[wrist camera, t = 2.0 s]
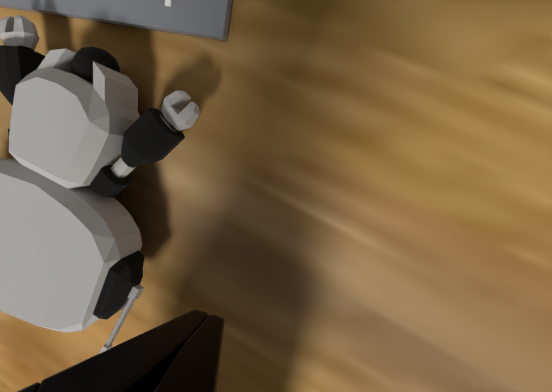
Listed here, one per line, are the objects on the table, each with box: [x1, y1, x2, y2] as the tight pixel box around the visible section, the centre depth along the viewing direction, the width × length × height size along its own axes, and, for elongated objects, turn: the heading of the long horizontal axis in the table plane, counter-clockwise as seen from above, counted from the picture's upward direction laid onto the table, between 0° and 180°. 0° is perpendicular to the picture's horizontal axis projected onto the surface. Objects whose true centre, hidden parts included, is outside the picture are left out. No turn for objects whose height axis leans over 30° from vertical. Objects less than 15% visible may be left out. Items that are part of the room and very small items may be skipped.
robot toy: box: [0, 15, 200, 354], centre depth 15 cm, size 12×4×15 cm
